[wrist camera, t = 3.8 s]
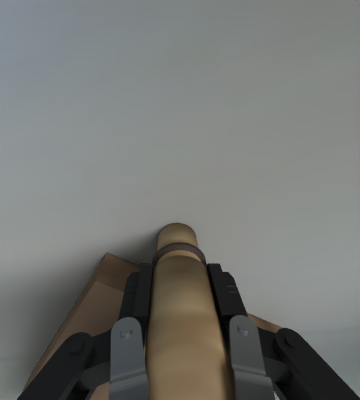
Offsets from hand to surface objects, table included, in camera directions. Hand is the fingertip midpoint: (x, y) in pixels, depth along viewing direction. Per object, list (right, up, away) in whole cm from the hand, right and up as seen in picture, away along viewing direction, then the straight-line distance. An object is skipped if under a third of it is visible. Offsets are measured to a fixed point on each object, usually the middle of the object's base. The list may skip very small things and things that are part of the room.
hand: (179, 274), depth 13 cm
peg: (0, +2, +3) cm, 4 cm away
